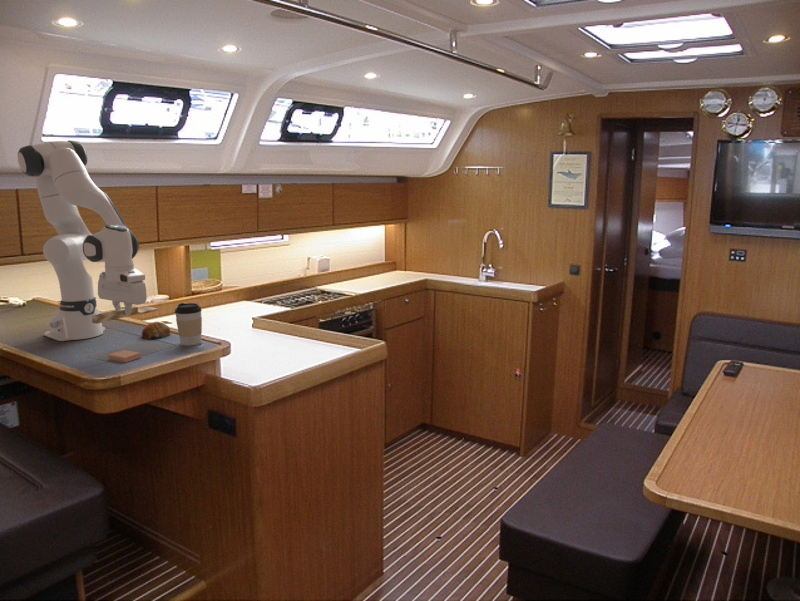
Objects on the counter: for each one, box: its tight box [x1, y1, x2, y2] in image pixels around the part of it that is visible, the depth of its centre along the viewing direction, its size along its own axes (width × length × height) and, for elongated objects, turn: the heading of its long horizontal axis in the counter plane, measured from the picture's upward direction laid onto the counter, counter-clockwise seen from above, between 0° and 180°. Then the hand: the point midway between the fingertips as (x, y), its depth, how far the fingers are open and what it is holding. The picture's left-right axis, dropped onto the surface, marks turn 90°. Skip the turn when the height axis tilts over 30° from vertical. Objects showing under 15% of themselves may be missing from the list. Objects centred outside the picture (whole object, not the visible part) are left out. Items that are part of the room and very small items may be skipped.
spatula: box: [92, 305, 159, 324], centre depth 218 cm, size 23×6×2 cm, turn 151°
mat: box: [88, 339, 177, 365], centre depth 219 cm, size 16×23×1 cm
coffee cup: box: [174, 302, 203, 348], centre depth 227 cm, size 9×9×15 cm
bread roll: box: [141, 321, 171, 340], centre depth 240 cm, size 10×10×8 cm
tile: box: [109, 350, 142, 363], centre depth 211 cm, size 2×6×8 cm
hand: (123, 314), depth 218 cm, fingers closed on spatula, 2 cm apart
